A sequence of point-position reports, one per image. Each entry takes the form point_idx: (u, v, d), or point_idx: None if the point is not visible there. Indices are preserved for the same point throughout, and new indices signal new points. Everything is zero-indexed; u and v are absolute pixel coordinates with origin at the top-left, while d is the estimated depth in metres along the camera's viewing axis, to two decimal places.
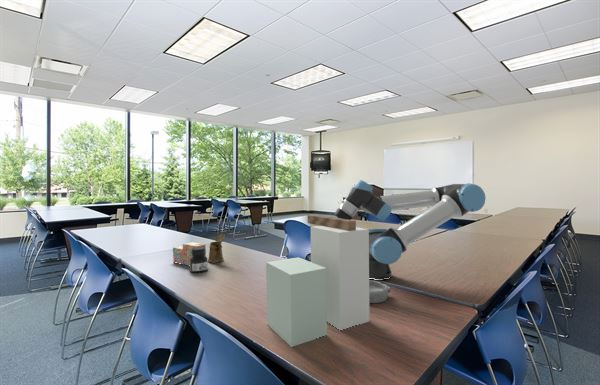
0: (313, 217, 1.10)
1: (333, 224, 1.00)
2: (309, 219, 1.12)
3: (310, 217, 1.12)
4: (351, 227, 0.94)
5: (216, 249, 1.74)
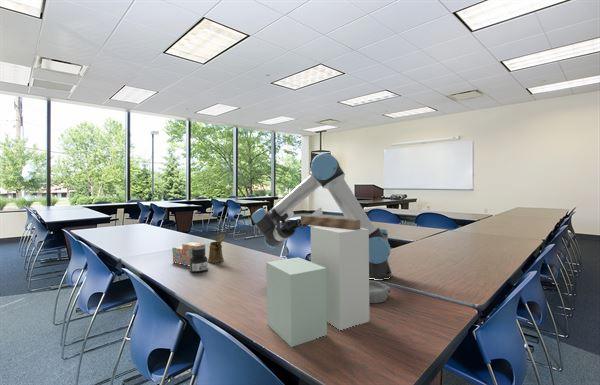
0: (308, 217, 1.09)
1: (335, 223, 1.00)
2: (303, 220, 1.11)
3: (304, 218, 1.10)
4: (357, 226, 0.96)
5: (216, 249, 1.74)
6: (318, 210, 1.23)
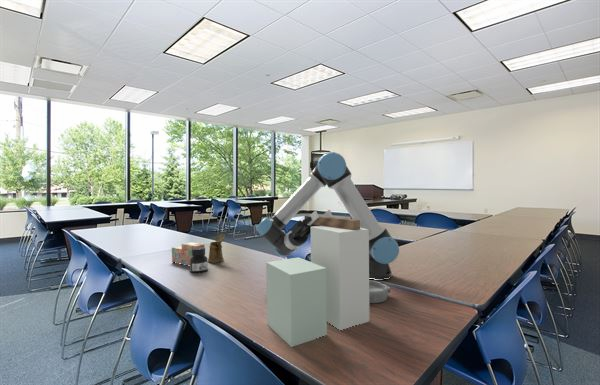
0: None
1: (336, 223, 1.00)
2: None
3: None
4: (356, 226, 0.95)
5: (216, 249, 1.74)
6: (327, 213, 1.10)
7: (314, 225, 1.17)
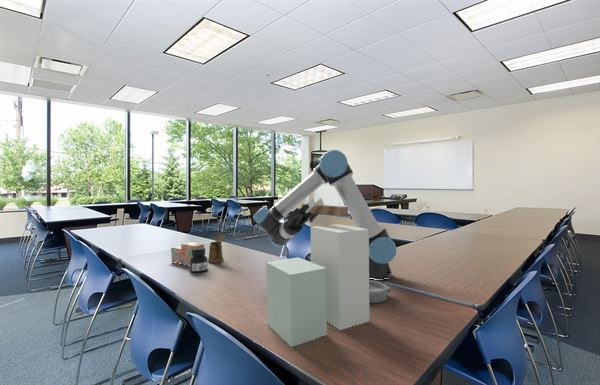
0: None
1: (326, 211, 1.03)
2: None
3: None
4: (344, 213, 0.97)
5: (216, 249, 1.74)
6: (319, 201, 1.12)
7: (307, 214, 1.19)
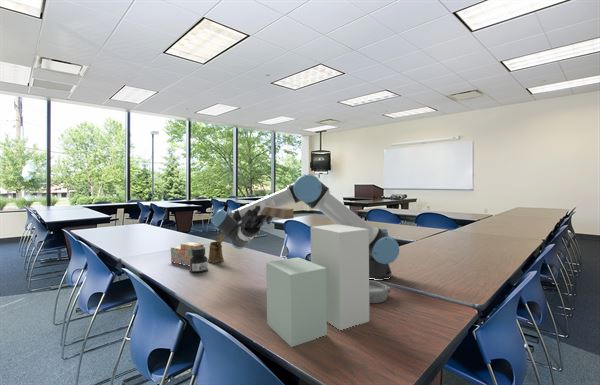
0: None
1: (274, 213, 0.99)
2: None
3: None
4: (288, 216, 0.93)
5: (216, 249, 1.74)
6: (271, 202, 1.08)
7: (262, 215, 1.16)
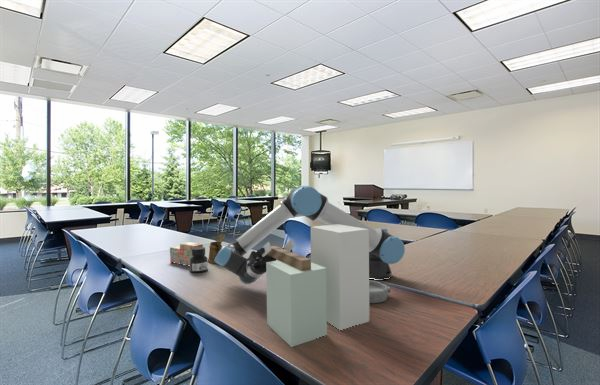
0: (271, 249, 1.02)
1: (289, 260, 0.91)
2: None
3: None
4: (306, 267, 0.85)
5: (216, 249, 1.74)
6: (289, 242, 1.02)
7: None
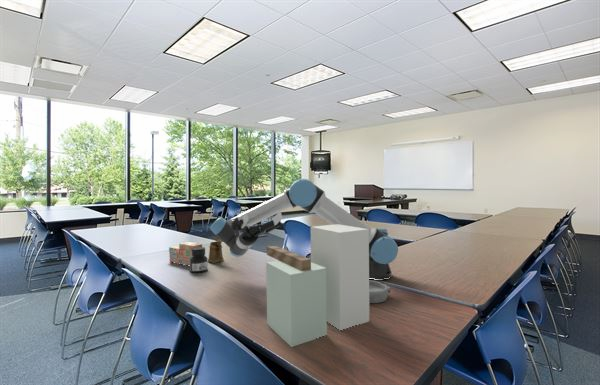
0: (271, 249, 1.02)
1: (289, 260, 0.91)
2: (268, 251, 1.04)
3: (269, 249, 1.04)
4: (306, 267, 0.85)
5: (216, 249, 1.74)
6: (278, 214, 1.15)
7: (266, 225, 1.20)
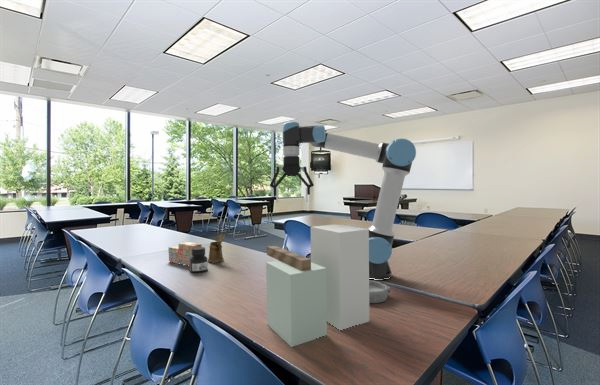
0: (271, 249, 1.02)
1: (289, 260, 0.91)
2: (268, 251, 1.04)
3: (269, 249, 1.04)
4: (306, 267, 0.85)
5: (216, 249, 1.74)
6: None
7: (281, 180, 1.38)
